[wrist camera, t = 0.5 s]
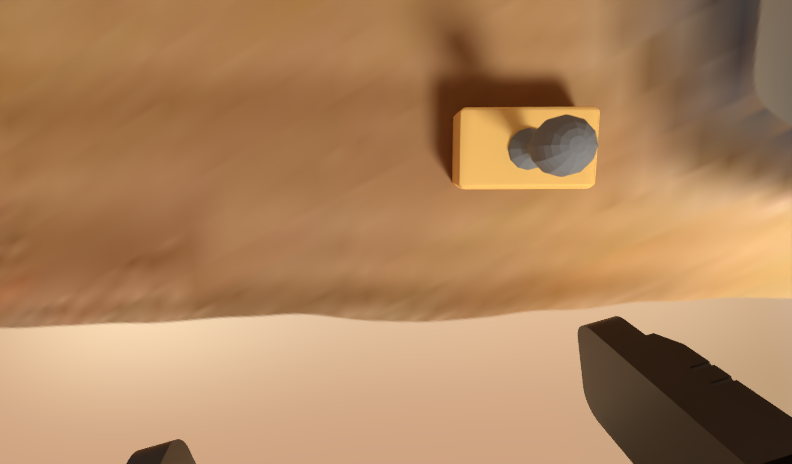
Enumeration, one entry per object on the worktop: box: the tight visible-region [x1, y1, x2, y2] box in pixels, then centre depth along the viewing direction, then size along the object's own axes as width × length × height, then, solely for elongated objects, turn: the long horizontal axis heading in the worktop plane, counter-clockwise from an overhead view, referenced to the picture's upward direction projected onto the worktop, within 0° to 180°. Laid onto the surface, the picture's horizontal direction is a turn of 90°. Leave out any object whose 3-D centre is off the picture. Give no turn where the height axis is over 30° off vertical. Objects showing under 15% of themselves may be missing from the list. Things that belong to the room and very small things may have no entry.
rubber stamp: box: [452, 107, 600, 189], centre depth 28 cm, size 10×6×12 cm, turn 90°
